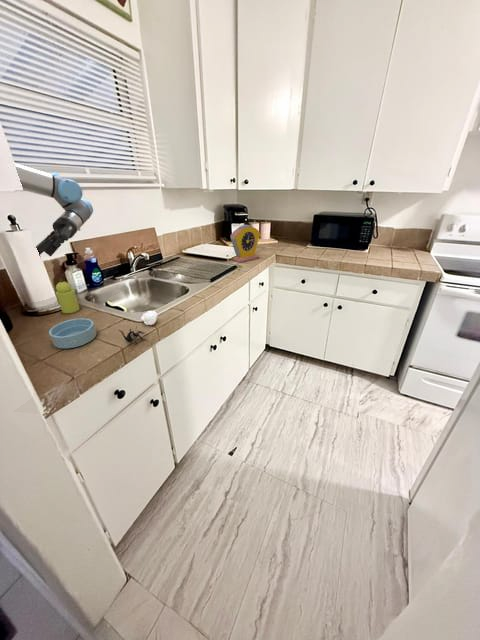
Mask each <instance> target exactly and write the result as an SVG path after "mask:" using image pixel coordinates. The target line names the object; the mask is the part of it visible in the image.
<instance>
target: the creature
mask: <svg viewBox="0 0 480 640" xmlns="http://www.w3.org/2000/svg"><path fill="white" fill-rule="evenodd" d="M137 329H138V326H136V327H135V330H137ZM135 330H132V328H130V329H129V332H128V333H127V335H125V333H124V332H123V331H122V330H120V329H118V331H119V332H120V333H121V334H122V337H123V338H124V340H125V341H126V342H128V343H132V342H133V341H134V342H135V344H139V341H136V340H135V339H134V338H138V337H139V338H140V340H141V341H146V339H145V338H143V337H142V336H141V335H140V334H142V335H144V334H145V331H143V330H141V331H140V330H138V331H135ZM132 336H133V337H132Z"/></svg>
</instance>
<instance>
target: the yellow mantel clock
mask: <svg viewBox="0 0 480 640" xmlns="http://www.w3.org/2000/svg"><path fill="white" fill-rule="evenodd" d="M260 236H261V231H260V230H259V229H258V228H256V227H254V226H253V225H251V224H241V225H239V226H238V227H237V228H235V229H234V230H233V231H232V233H231V234H230V236H229V237H230V240H231V244H232V248H233V250H234V254H235V256H233V257H234V258H233V259H232V258H231V261H234V262H237V263H239V264H240V263H245V262H249V261H254V260H257V259H258V260H259V258H260V256H259V255H257V254H256V251H257V246H258V243H259V239H260ZM256 257H258V258H256ZM253 258H254V259H253Z"/></svg>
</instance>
